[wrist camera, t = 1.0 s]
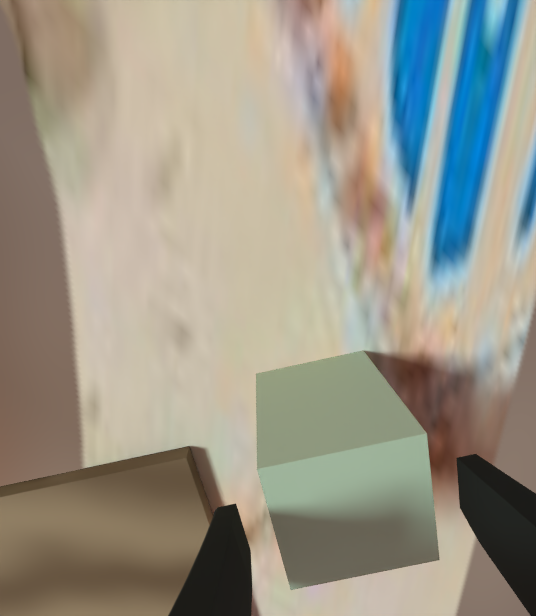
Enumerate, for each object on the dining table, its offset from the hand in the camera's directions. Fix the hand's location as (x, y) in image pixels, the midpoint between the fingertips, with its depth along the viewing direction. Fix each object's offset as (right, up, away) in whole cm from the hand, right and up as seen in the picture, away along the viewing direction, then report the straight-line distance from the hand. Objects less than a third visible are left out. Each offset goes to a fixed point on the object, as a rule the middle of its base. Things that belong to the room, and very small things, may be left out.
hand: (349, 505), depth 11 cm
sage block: (0, +2, +5) cm, 6 cm away
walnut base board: (-11, -8, +8) cm, 16 cm away
